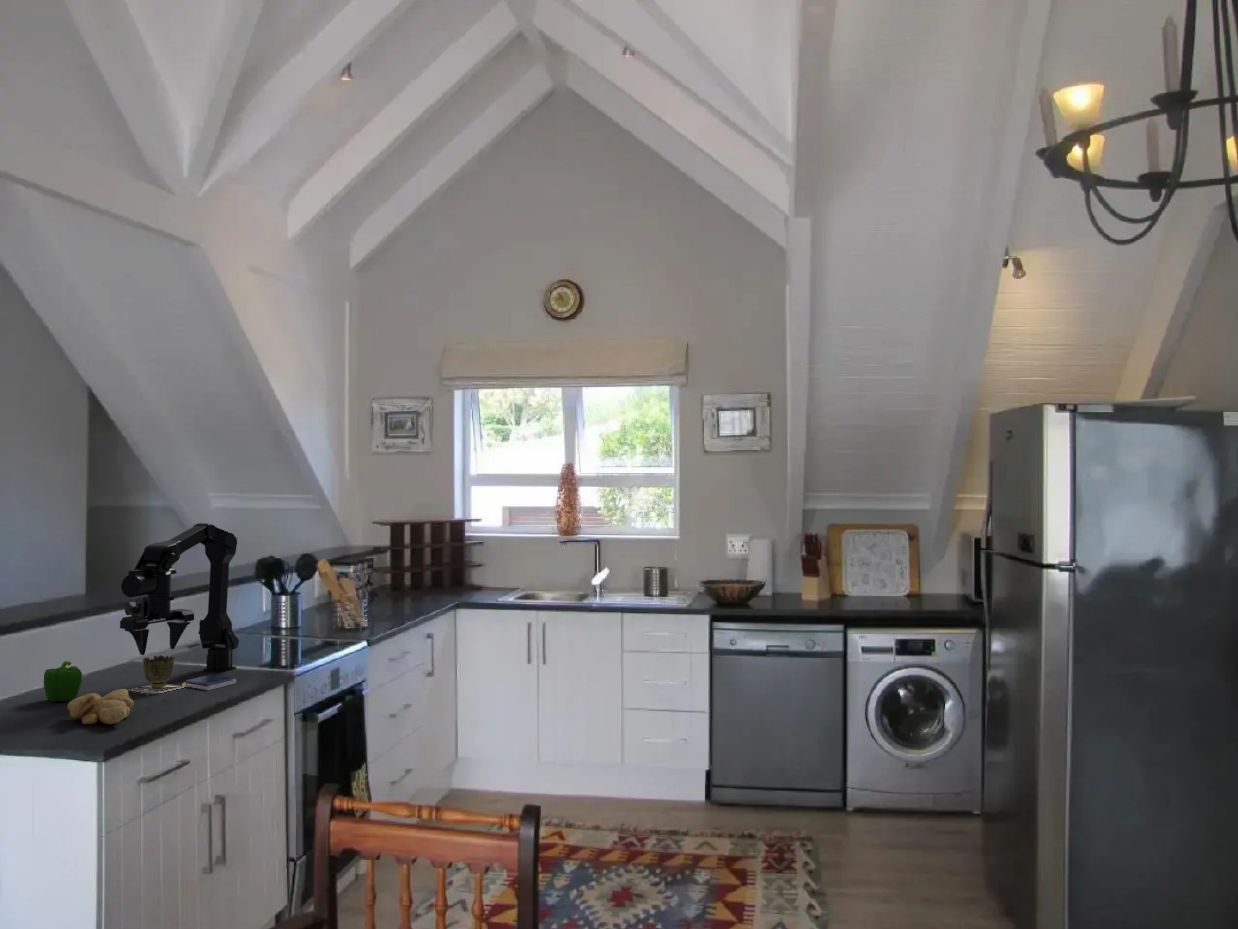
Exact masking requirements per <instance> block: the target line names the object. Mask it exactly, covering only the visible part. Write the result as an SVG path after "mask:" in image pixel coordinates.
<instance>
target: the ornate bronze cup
mask: <svg viewBox="0 0 1238 929" xmlns="http://www.w3.org/2000/svg"><path fill="white" fill-rule="evenodd" d="M175 658H176V656H175V657H174V656H172V655H170V657H169V656H168V655H165V656H164V655H161V654H160V655H158V656H156V655H154V656H153V659H152V658H151V659H150V657H144V658H143V659H142V661H143V669H144V671H143V672H144V676H145V679H146V681H147V682H149V683H151V684H150V685H151V688H152V689H162V688H165V686H166V684H167V682H168V681H169V680H170V679H171V677H172V676H173V670H174V664H175Z"/></svg>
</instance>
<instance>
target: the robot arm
mask: <svg viewBox="0 0 1238 929" xmlns="http://www.w3.org/2000/svg"><path fill="white" fill-rule="evenodd" d="M199 544H200V545H202V546H204V551H205V552H204V554H205V556H206V558H207V559H208V561H209V563H210V564H209V565H210V566H209V567H210V568H209V569H210V570H209V584H208V585H209V586H208V601H207V602H208V604H207V614H206V616H204V618H203V619H200V620H199V623H198V624H199V630H198V635H199V640H200V642H201V647H202V649H204V650H205V649H207V654H206V667H204V668H203V671H208V672H215V673H221V672H225V671H230V670H234V669H237V666H236V665H235V666H234V665H233V650H236V649H237V648H238V647H239V643H240V639H239V638H238V637H237V636H236V634H235V633H234V632H233V623H232V621H231V619H230V616H229V615H228V613H227V610H228V609H227V608H228V593H229V592H228V589H229V573H230V572H229V571H230V563H231V562H232V560H233V558H234V557H235V555H236V553H237V546H238V538H237V537H236V535H235V534H234V533H233V532H229V531H227V530H224V529H222V528H219V527H217V526H216V525H214V524H212V523H207V522H206V523H205V522H199V523H196V524H194V525H193V526H192V527H190V528H188V529H186V530H185V531H183V532H182V533H179V534H178V535H176V536H174V537H172V538H171V539H169V540H166V541H160V542H154V543H152V544H148V545H147V546H145V547H144V550H143V552H142V554H141V555H140V557H139V560H138V562H137V563H136V565H135V567H134V569H129V570H128V572H127V573H128V574H127V575H126V576H125V577H124V578H123V580H122V582H121V583H120V584H121V585H120V587H121V592H122V594H123V595H124V596H125V597H127V598H136V597H142V596H143V597H142V598H141V599H142V600H141V602H140V603H136V601H128V602H127V603H125V604H124V612H125V615H126V616H124V617H122V618H121V620H120V621H119V628H120V629H122V630H124V631H125V632H128V633H129V634H130V635H131V636H132V638H133V640H134V641H135V642H134V643H135V644H136V647H137V649H138V653H139V655H140V656H145V655H146V652H147V651H146V649H147V645H148V640H149V639H148V638H149V632H150V629H149V628H148V626H149V625H152V624H158V623H164V622H166V624H167V626H168V627H169V648H170V649H171V650H175V649H176V647H177V644H178V642H179V640H180V639H181V637H182V635H183V633H184V631H185V630H186V629H187V628H188V626H189V625H190V624H191V621H195V612H194V611H193V610H192V609H185V608H175V609H171V601H174V600H175V596H174V595H172V594H171V593H172V592H171V591H172V590H171V589H172V586H171V585H172V575H176V574H177V573H178V571H177V570H176V569H174V568H173V565H175V564H176V563H177V562H178V561H179V560H180V558H181V555H182V554H183V553H185V552H187V551H189V549H192V548H193V547H195V546H197V545H199Z"/></svg>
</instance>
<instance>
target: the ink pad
mask: <svg viewBox="0 0 1238 929" xmlns="http://www.w3.org/2000/svg"><path fill="white" fill-rule="evenodd" d="M234 684H237V679H235V678H233V677H232V676H226V675H225V676H224V675H218V674H212V673H211V674H207V675H203V676H198V677H194V678H191V679H187V680H185V682H184V681H183V682H182V686H184V687H186V688H188V687H192V688H191V689H195V688H197V690H203V691H211V690H215V689H220V688H223V687H227V686H230V685H234Z"/></svg>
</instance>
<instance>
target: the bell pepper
mask: <svg viewBox="0 0 1238 929" xmlns="http://www.w3.org/2000/svg"><path fill="white" fill-rule="evenodd" d="M71 664H72V662H71V661H70V660H66V661H63V662H62V663H61V666H59V667H57V668H47V669H45V671H44V673H43V687H44V693H45V696H46V699H47V700H48V701H50V702H51V703H52V702H56V703H57V701H58V702H71V701H72V700H73V699H76V698H77V696H78V695H79V692H80V689H81V686H82V682H83V681H82V680H83V673H82V671H81V669H79V667H78V666H77V665H71ZM67 666H69V667H67Z"/></svg>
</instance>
